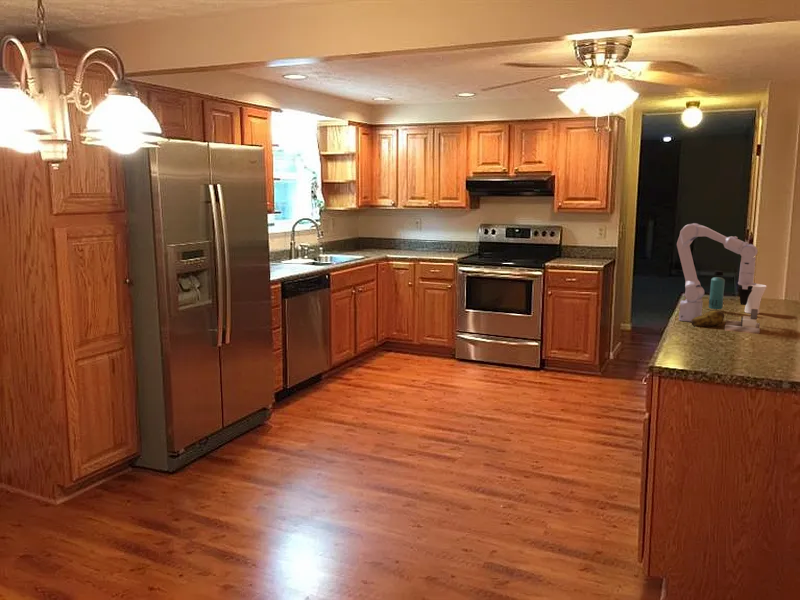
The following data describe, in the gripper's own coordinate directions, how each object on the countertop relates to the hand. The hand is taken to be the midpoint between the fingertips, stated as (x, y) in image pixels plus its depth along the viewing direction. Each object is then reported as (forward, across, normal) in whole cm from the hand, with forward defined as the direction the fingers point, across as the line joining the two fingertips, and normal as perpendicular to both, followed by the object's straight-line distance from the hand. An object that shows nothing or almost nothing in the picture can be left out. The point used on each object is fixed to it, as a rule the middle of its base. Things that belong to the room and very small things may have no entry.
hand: (743, 303), depth 292 cm
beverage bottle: (+11, +33, +12) cm, 37 cm away
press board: (+10, -10, -1) cm, 15 cm away
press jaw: (+9, -10, -3) cm, 14 cm away
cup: (+10, +39, -3) cm, 40 cm away
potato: (+11, -11, +13) cm, 20 cm away
